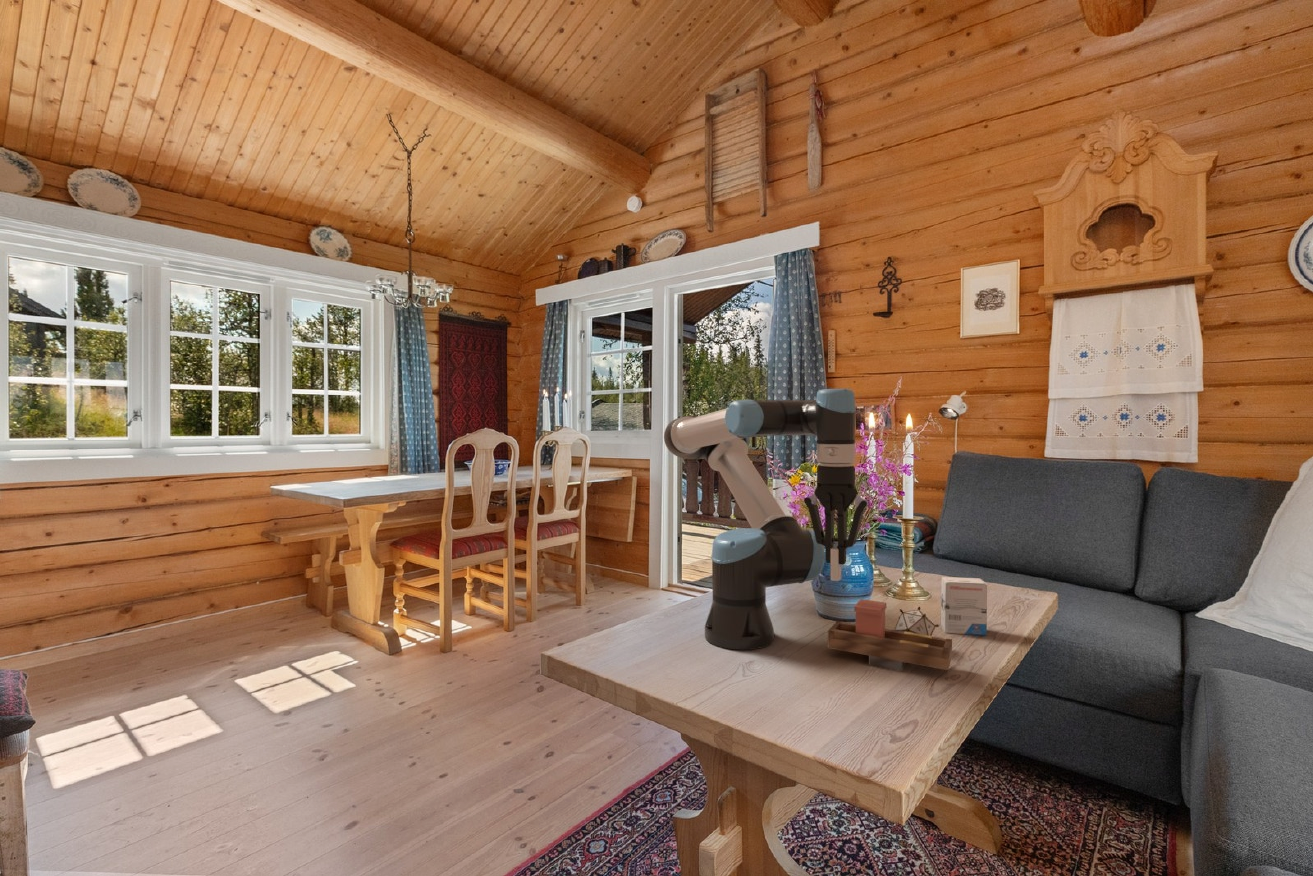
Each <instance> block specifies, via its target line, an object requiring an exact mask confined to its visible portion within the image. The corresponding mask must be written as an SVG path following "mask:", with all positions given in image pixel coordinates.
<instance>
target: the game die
mask: <svg viewBox="0 0 1313 876" xmlns="http://www.w3.org/2000/svg"><path fill="white" fill-rule="evenodd" d="M899 612H900V616H898V620H897V623H896V625H895V627H894V630H895V631H901V632H910V633H917V634H923V635H929V636H932V637H933V633H934V631H935V628H939V627H940V626H941V624H938V623H937V624H935V623H933V622H932V621H931V620H930V619H929V617H927V615H926V613H923V612H922V611H921V606H918V607H917V610H916V609H915V610H914V609H913V610H909V611H903V609H902V608H899Z"/></svg>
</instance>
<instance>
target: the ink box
mask: <svg viewBox="0 0 1313 876" xmlns="http://www.w3.org/2000/svg"><path fill="white" fill-rule="evenodd" d="M940 585H941V586H940V589H941V591H940V592H941V594H940V595H941V596H940V598H941V601H940V603H941V605H940V606H941V609H940V611H941V613H940V616H941V617H940V619H941V620H940V626H941V629H942V630H943V632H944V633H946V634H956V635H971V636H972V635H973V636H987V635H988V634H987V631H988V629H987V627H988V626H987V621H988V617H987V616H988V615H987V614H988V613H987V612H988V584H987V583H986V582H985V581H984V579H982V578H980V577H979V578H978V577H977V578H975V577H956V576H955V577H952V576H950V577H949V576H941V583H940Z"/></svg>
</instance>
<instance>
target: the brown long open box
mask: <svg viewBox="0 0 1313 876" xmlns="http://www.w3.org/2000/svg"><path fill="white" fill-rule="evenodd" d="M827 648H828V649H833V650H837V651H838V650H839V651H844V652H848V653H855V654H859V655H866V656H868V666H869V667H874V668H875V667H876V668H880V669H884V670H890V671H895V672H899V673H903V670H904V668H905V666H906V663H907V664H913V665H918V666H922V667H923V666H925V667H929V668H933V669H934V668H935V669H939V670H940V669H941V670H945V671H949V669H950V665H951V662H952V658H953V639H952V638H942V637H937V636H933V635H932V636H929V635H923V634H917V633H910V632H901V631H895V629H888V628H885V638H884V637H878V636H872V635H866V634H860V633H856V623H851V622H845V621H842V620H836V621H835V622H834V623H833V624H832V626H831V627H830V628H828V630H827Z"/></svg>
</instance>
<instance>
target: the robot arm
mask: <svg viewBox="0 0 1313 876" xmlns="http://www.w3.org/2000/svg"><path fill="white" fill-rule="evenodd" d="M856 411H857V408H856V398H855V392H854V391H853V390H852V389H850V388H827V389H825V388H824V389H819V390H818V391H817V393H816V398H815V399H813V400H812V399H811V400H807V399H806V400H804V399H803V400H801V399H799V400H798V399H797V400H795V399H793V400H791V399H790V400H789V399H788V400H777V399H776V400H768V399H767V400H764V399H763V400H762V399H761V400H759V399H753V400H752V399H750V398H749V399H742V400H734V401H732V402H731V403H729V406H727V407H726V408H723V409H720V410H716V411H712V412H710V413H706V414H702V415H699V416H692V415H691V416H687V415H686V416H681V417H677V418H675V419H673V420H672V421H670V422H669V423H668V424H667V425H666V428H665V429H664V432H663V433H664V434H663V439H664V443H665V446H666V448H667V450H668V451H669V452H670V453H671V454H672V455H674V456H675V457H678V458H681V459H686V460H701V459H703V460H705V461H706V462H707V464H708V465H709V468H710V469H712V470H713V471H716V472H719V473H720V474H719V475H721V478H722V479H723V480H724V483H725V484H726V486H727V487H728V489H729V490H730V493H731V495H732V496H733V498H734V500H735V502H736V503H737V505H738V507H739V508H740V510H741V513H743V515H744V518H745V519H746V520H747V522H748V524H749V525H750V527H748V528H735V529H730V530H726V531H723V532H721V533H718V535H716V537H715V538H714V539H713V541H712V549H711V550H712V551H711V562H712V563H711V565H712V570H711V571H712V575H711V577H712V579H711V581H712V585H711V586H712V590H711V591H712V600H711V601H712V602H711V606H710V608H709V612H708V615H707V618H706V620H705V621H706V622H705V625H704V638H705V640H706V641H707V642H708V643H710V644H712V645H714V646H716V647H720V648H724V649H729V650H730V649H731V650H741V651H742V650H743V651H744V650H755V649H757V650H758V649H761V648H765V647H767V646H769V645H771V644H772V643H773V642H774V639H775V637H774V636H775V634H774V633H775V628H774V625H773V623H772V619H771V615H770V613H769V609H768V607H767V601H766V599H767V598H766V596H767V595H766V591H767V589H766V588H771V587H772V588H773V587H776V586H777V587H778V586H786V585H792V584H803V583H806V582H809V581H813V580H815V579H817V578H818V577H819V576H820V574H821V573H822V571H823V568H824V565H825V563H826V564H830V581H831V582H832V581H833V582H839V581H840V580H841V579H842V565H843V566H844V565H845V564H846V562H847V549H848V548H852V547H853V546H855V544H857V539H858V536H859V531H860V527H861V524H862V520H863V515H864V513H865V512H864V511H865V510H866V509H867V507H868V506H869V505H870V500H868V499H864V498H863V497H862V496H860V495H859V492H858V490H857V488H856V467H855V466H854V465H853V464H855V462H856ZM765 436H816V462H817V463H818V464H819V465H817V467H816V487H815V489H814V493H812V494H811V495H810V496H806V497H804V498H803V503H804V504H805V505H806V507H807V509H808V513H809V516H810V517H809V518H810V520H811V523H812V524H811V525H812V528H813V530H812V529H808V528H806V529H803V528H802V527H801V525H800V523H799V522H798V520H797V519H796V518H795V517H794V516H791V515H786V514H785V512H784V510H783V509H782V507H781V506H780V504H779V503H778V501H777V500H776V498H775V497H774V495H773V493H772V492H771V490H770V489H769V487H768V485H767V484H766V482H765V481H764V479H763V478H762V476H761V474H760V473H759V471H758V470H757V468H756V467H755V465H754V464H753V462H752V461H751V459H750V458H749V456H748V453H749V448H750V438H754V437H765ZM818 501H819V503H820V504H821V506H822V507H823V508H824V509H823V511H824V526H823V524H822V519H821V515H820V511H819V508H818V505H817V504H818ZM853 502H855V503H854V507H855V510H854V515H853V517H852V522H851V526H850V530H849V533H848V530H847V529H848V528H847V527H848V525H847V524H848V509H849V508H850V506H851V505H852V504H853ZM835 512H836V516H837V546H835V545H836V542H835ZM847 535H848V537H847Z"/></svg>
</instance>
